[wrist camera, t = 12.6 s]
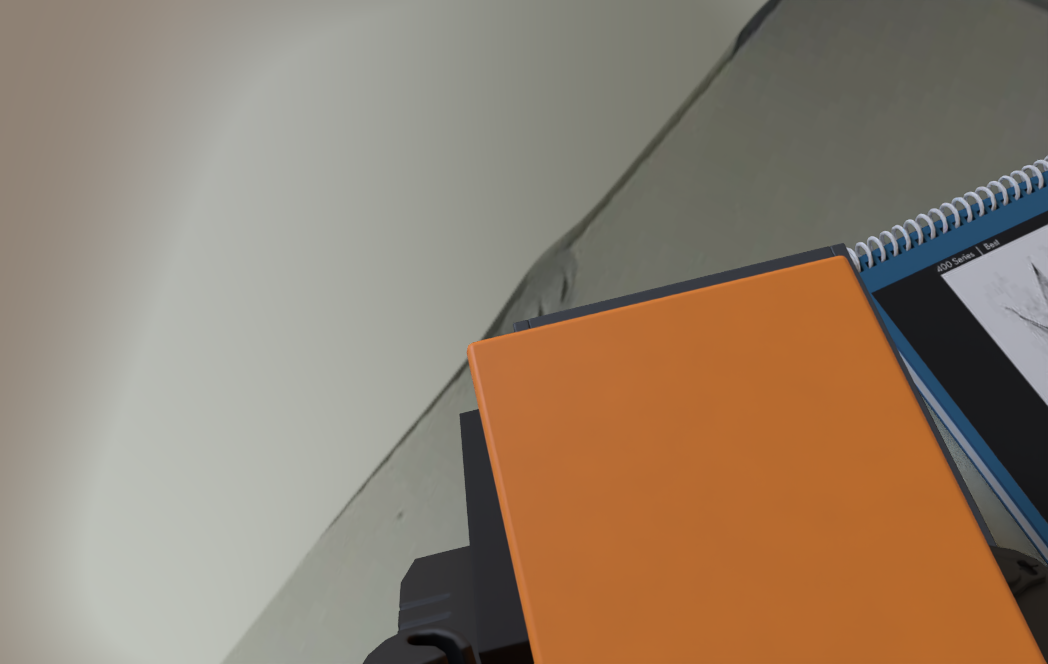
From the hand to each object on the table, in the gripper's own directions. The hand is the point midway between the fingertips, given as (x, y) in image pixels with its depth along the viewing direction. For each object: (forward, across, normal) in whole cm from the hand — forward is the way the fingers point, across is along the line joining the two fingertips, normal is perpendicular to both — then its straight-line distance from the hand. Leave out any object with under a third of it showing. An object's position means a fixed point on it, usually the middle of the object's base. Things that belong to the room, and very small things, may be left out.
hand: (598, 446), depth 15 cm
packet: (0, 0, -5) cm, 5 cm away
